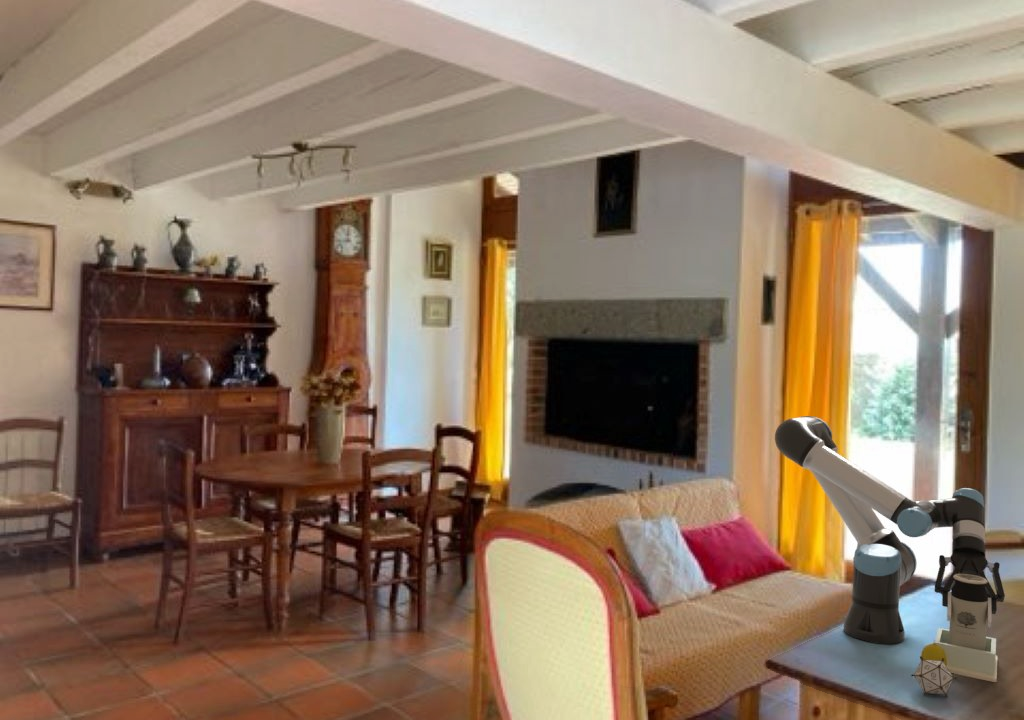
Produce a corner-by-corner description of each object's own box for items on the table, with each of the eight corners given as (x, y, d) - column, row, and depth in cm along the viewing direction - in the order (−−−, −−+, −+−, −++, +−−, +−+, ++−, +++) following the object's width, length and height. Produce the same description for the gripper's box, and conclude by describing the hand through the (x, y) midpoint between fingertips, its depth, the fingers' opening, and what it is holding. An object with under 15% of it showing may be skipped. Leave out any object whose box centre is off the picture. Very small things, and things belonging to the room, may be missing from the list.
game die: (934, 707, 191) (955, 669, 193) (949, 709, 183) (971, 670, 185) (898, 683, 193) (918, 645, 196) (911, 684, 185) (932, 645, 188)
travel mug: (956, 641, 214) (960, 571, 214) (990, 651, 208) (994, 579, 208) (943, 648, 209) (946, 576, 209) (977, 658, 203) (981, 584, 202)
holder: (996, 682, 198) (997, 658, 197) (930, 668, 205) (931, 645, 204) (997, 658, 213) (998, 636, 213) (935, 646, 220) (936, 624, 220)
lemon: (923, 669, 204) (925, 637, 204) (948, 676, 200) (950, 643, 200) (917, 676, 200) (919, 642, 199) (942, 683, 196) (944, 649, 196)
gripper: (1013, 555, 217) (1016, 636, 203) (923, 544, 226) (921, 621, 212) (1016, 539, 212) (1020, 621, 198) (924, 528, 221) (922, 606, 207)
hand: (969, 621), depth 205 cm, fingers closed on travel mug, 8 cm apart
